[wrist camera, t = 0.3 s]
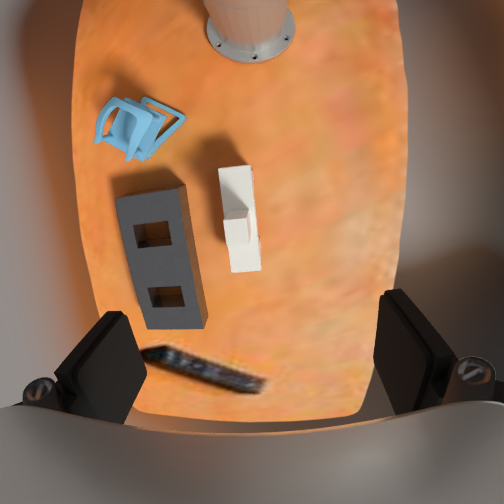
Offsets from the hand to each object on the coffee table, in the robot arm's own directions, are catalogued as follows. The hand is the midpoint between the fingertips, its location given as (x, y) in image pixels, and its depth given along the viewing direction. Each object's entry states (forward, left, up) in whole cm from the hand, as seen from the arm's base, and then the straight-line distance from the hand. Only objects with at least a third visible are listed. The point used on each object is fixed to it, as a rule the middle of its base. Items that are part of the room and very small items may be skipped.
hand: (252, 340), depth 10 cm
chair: (-11, -15, -34) cm, 39 cm away
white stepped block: (+3, -3, -34) cm, 34 cm away
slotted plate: (+9, -16, -34) cm, 38 cm away
